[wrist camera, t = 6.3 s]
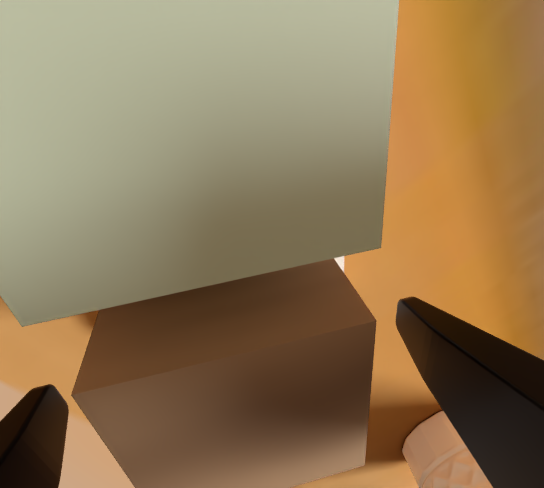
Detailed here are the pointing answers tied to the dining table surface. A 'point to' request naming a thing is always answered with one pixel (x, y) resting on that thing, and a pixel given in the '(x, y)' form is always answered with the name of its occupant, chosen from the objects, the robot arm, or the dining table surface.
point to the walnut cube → (234, 381)
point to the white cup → (441, 456)
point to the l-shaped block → (186, 144)
